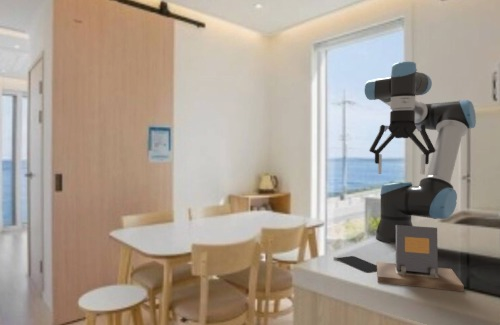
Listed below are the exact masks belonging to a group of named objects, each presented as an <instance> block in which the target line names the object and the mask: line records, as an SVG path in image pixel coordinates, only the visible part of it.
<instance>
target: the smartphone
mask: <svg viewBox="0 0 500 325" xmlns="http://www.w3.org/2000/svg"><path fill="white" fill-rule="evenodd" d="M336 261H339V262H340V263H343V264H344V265H347V266H349V267H353V268H354V269H357V270H359V271H361V272H362V273H363V272H364V273H367V274H370V273H377V264H375V263H372V262H369V261H367V260H365V259H362V258H359V257H357V256H353V255H350V256H341V257H336Z"/></svg>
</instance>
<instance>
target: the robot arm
mask: <svg viewBox="0 0 500 325" xmlns="http://www.w3.org/2000/svg"><path fill="white" fill-rule="evenodd" d="M432 86H433V83H432V79H431V77H430V76H429V75H427V74H426V73H423V72H418V68H417V63H416V62H415V61H401V62H396V63H394V64H392V66H391V73H390V76H387V77H381V78H374V79H371V80H368V81H366V83H365V85H364V95H365V97H366V99H367V100H369V101H372V100H374V101H376V100H379V101H380V102H382V103H384V104H385V105H387V106H389V108H390V110H391V111H390V113H389V121H390V122H389V125H384V124H380V126H379V131H378V134H377V135H376V137H375V139H374V141H373V142H372V144H371V146H370V147H369V152H370V153H372V154H374V164H377V174H379V175H381V174H382V161H383V160H382V157H383V154H381V152H382V151H383V150H384V149H385V148H386V147H387V146H388V144H390V143H391V142H392V140H393V139H394V138H395V139H410V140H411V141H412V142H413V143H414V145H416V147H418V149H419V150H420V151H421V152H422V153H423V154H422V153H421V154H420V174H421V175H424V176H425V175H426V176H425V177H423V178H421V179H420V180H419V184H418V185H413V183H412V181H408V182H407V181H406V182H405V181H403V182H393V183H384V184H382V185H381V188H380V195H379V196H380V219H379V222H378V225H377V229H376V231H375V238H376V239H377V240H378V241H381V242H386V243H392V244H396V225H403V226H414V225H413V222H412V216H413V217H420V218H429V219H433V220H439V219H440V220H447V219H448V218H451V216H452V215H453V213H454V212H455V209H456V207H457V199H458V195H457V192H456V191H457V190H455V189H454V186H453V184H452V183H451V180H452V178H453V172H454V169H455V166H456V162H457V157H458V152H459V149H460V145H461V143H462V142H461V141H462V139H463V137H465V136H466V135H467V134H468V132H469V129H470V130H471V129H473V128H475V127H476V124H477V120H476V118H477V117H476V111H475V110H476V109H475V106H474V103H473V102H472V101H470V100H468V99H466V100H465V99H464V100H461V99H460V100H457V101H456V100H455V101H445V102H433V103H425V102H422V101H417V100H416V96H423V95H426V94H427V93H429V91H430V90H431V88H432ZM387 130H388V131H389V132H390V134H389V135H388V136H387V137H386V138H385V140H384V141H383V142H382V143H381V144H380V145H379V146H378V144H379V143H380V141H381V139H382V137H383V135H384V132H385V133H386V132H387ZM416 130H417V132H419V133H420V135H421V138H422V139H423V141H424V144H425V145H426V146H424V144H423V143H422V141H420V139H419V138H418V137H417V136H416V135H415V133H414V132H416ZM427 130H429V131H430V130H431V131H437V138H436V140H435V144H434V145H433V142H432V141H431V139H430V136H429V135H428V133H427ZM377 146H378V147H377ZM426 147H427V148H426ZM376 148H377V149H376ZM430 154H432V155H431V158H430ZM429 159H430V160H429ZM426 165H429V166H428V168H427V173H426Z"/></svg>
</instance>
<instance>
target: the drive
mask: <svg viewBox="0 0 500 325" xmlns="http://www.w3.org/2000/svg"><path fill="white" fill-rule="evenodd" d="M438 252H439V251H438V227H432V226H431V227H430V226H418V225H417V226H416V225H415V226H414V225H413V226H403V225H396V243H395V264H396V269H397V270H401V266H406V271H414V272H425V273H430V269H435V274H438V268H439V265H438V264H439V261H438V260H439V258H438V257H439V254H438Z"/></svg>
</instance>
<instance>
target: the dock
mask: <svg viewBox="0 0 500 325" xmlns="http://www.w3.org/2000/svg"><path fill="white" fill-rule="evenodd" d="M376 265H377V271H376V276H377V283H382V284H391V285H392V284H393V285H400V286H401V285H403V286H411V287H419V288H426V289H427V288H428V289H438V290H445V291H453V292H464V291H465V286H464V284H463V283H462V281H461V279H459V277H458V275H456V273H455V272H454V271H453V269H452V268H446V267H438V274H435V269H430V273H425V272H414V271H406V266H401V270H397V269H396V263H393V262H382V261H381V262H380V261H376Z"/></svg>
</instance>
